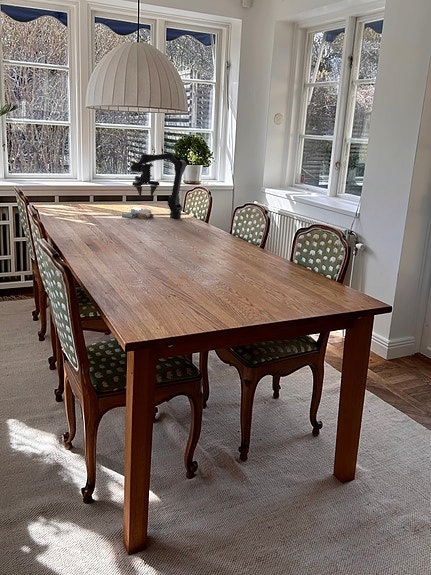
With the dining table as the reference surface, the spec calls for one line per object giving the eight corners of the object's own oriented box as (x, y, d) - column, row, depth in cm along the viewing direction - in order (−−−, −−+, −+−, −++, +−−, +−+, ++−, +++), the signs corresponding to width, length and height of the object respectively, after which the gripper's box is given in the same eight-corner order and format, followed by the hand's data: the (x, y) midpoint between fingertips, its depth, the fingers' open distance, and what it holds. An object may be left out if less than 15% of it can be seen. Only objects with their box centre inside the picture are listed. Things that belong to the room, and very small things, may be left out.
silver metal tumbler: (151, 218, 351) (151, 209, 350) (146, 218, 346) (146, 210, 345) (135, 215, 357) (136, 207, 356) (130, 215, 352) (131, 207, 351)
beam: (153, 218, 353) (153, 214, 352) (145, 220, 345) (145, 215, 344) (127, 213, 363) (127, 209, 362) (118, 215, 355) (118, 210, 354)
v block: (137, 218, 348) (137, 213, 348) (131, 219, 343) (131, 214, 343) (127, 216, 352) (127, 212, 351) (121, 217, 347) (121, 213, 346)
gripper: (150, 172, 368) (150, 194, 372) (128, 172, 356) (127, 195, 360) (160, 173, 360) (159, 196, 364) (137, 173, 348) (136, 197, 352)
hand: (145, 196), depth 360 cm, fingers open, 9 cm apart
